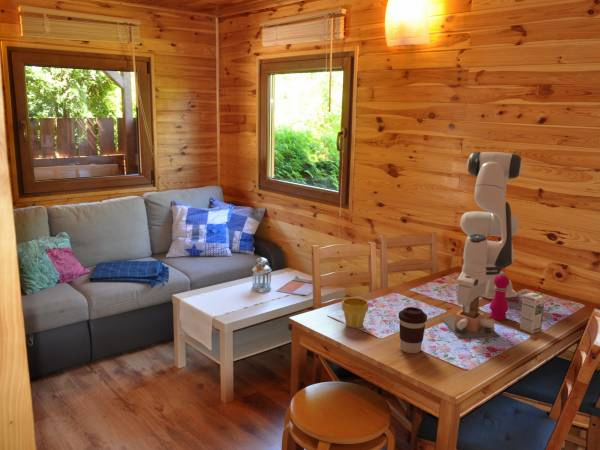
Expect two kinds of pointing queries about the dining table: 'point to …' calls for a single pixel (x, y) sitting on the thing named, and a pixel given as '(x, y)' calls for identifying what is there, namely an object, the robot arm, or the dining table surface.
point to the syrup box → (532, 312)
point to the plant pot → (354, 311)
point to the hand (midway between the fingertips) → (470, 309)
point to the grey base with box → (470, 326)
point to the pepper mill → (499, 298)
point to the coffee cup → (412, 329)
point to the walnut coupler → (472, 309)
